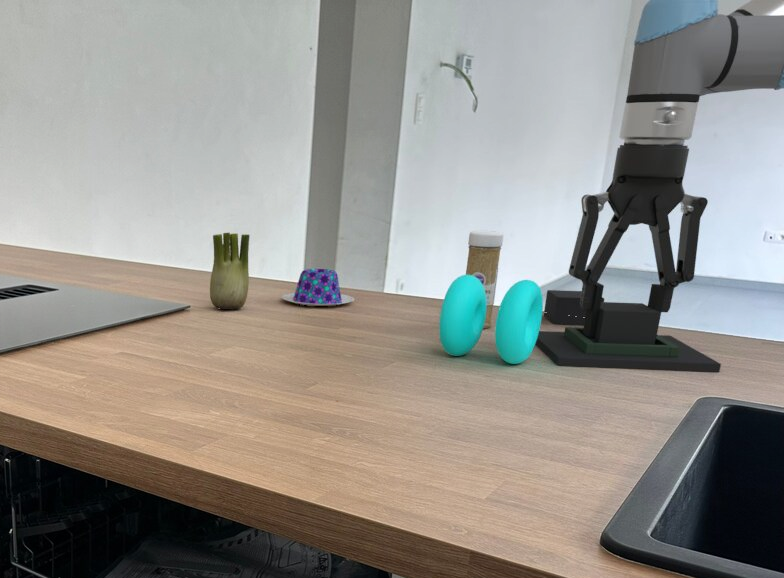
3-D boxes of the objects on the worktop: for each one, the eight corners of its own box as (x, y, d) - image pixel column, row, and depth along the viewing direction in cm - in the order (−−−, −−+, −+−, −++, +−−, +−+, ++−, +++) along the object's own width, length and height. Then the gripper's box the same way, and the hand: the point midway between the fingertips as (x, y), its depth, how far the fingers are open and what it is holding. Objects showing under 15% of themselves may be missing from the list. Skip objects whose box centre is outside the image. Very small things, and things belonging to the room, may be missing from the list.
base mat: (668, 342, 115) (672, 326, 115) (719, 372, 100) (723, 353, 100) (528, 337, 118) (531, 321, 117) (557, 365, 103) (560, 347, 102)
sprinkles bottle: (459, 328, 124) (470, 232, 119) (458, 322, 128) (469, 229, 123) (492, 330, 123) (505, 233, 118) (491, 324, 127) (502, 230, 122)
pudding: (365, 307, 139) (367, 275, 137) (294, 310, 137) (295, 276, 135) (339, 295, 150) (341, 265, 148) (272, 297, 148) (274, 266, 146)
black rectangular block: (636, 334, 111) (642, 303, 110) (654, 345, 105) (661, 312, 104) (583, 332, 112) (589, 301, 111) (598, 342, 106) (604, 310, 105)
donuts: (459, 346, 113) (468, 269, 109) (538, 357, 107) (550, 276, 104) (431, 361, 105) (440, 278, 102) (515, 373, 99) (527, 286, 96)
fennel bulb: (248, 307, 139) (251, 231, 135) (244, 313, 134) (246, 234, 130) (213, 305, 140) (215, 230, 136) (207, 311, 136) (208, 233, 132)
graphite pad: (587, 317, 132) (591, 291, 131) (600, 325, 126) (604, 298, 125) (543, 315, 133) (547, 290, 132) (553, 324, 127) (557, 297, 126)
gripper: (575, 141, 99) (545, 339, 106) (758, 143, 96) (713, 346, 104) (558, 142, 106) (531, 327, 113) (729, 143, 103) (689, 333, 110)
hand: (618, 336), depth 108 cm, fingers closed on black rectangular block, 6 cm apart
